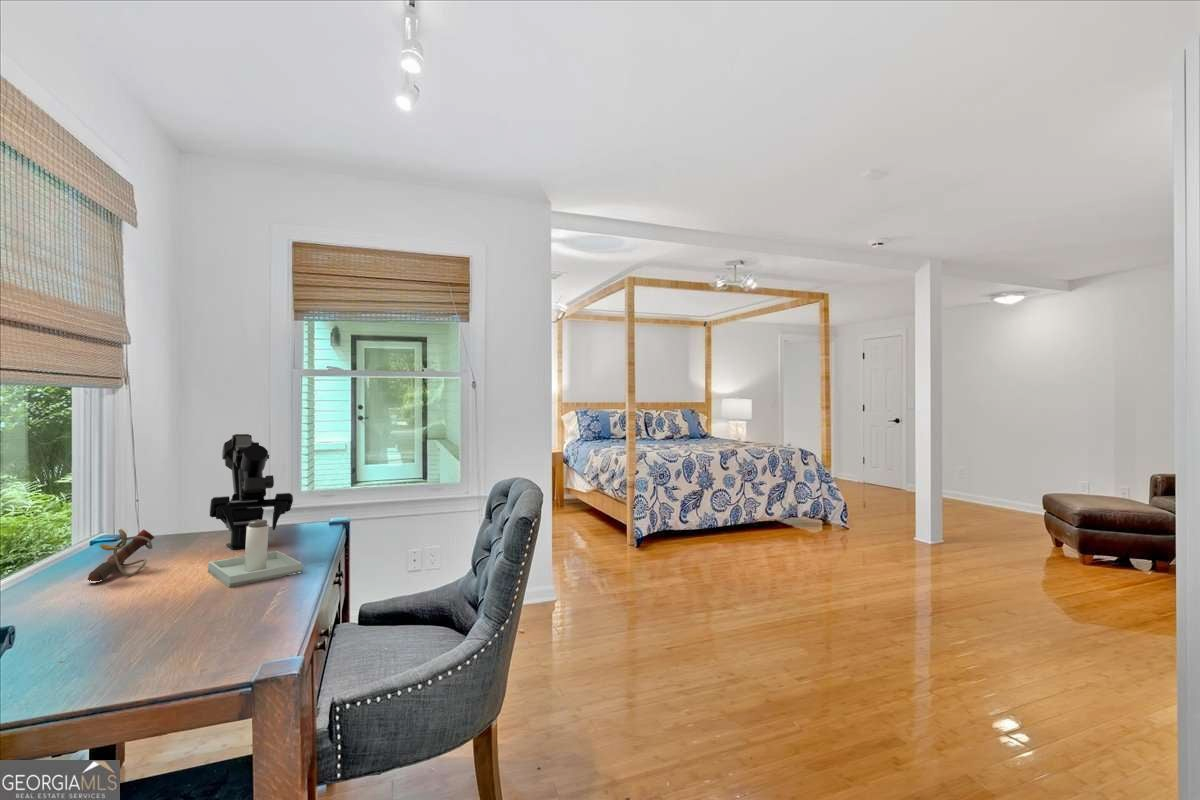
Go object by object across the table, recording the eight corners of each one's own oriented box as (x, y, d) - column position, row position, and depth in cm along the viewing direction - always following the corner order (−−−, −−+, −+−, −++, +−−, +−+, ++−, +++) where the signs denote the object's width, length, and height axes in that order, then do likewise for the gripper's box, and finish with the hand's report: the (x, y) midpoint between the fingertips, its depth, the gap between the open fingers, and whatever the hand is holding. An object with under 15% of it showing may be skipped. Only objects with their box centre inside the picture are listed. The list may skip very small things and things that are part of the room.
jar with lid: (239, 571, 136) (242, 522, 136) (254, 565, 140) (257, 518, 141) (256, 572, 135) (259, 523, 135) (270, 567, 140) (273, 520, 140)
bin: (207, 571, 137) (208, 561, 137) (277, 559, 149) (277, 550, 149) (229, 587, 126) (229, 576, 126) (301, 572, 139) (302, 563, 139)
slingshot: (51, 584, 123) (98, 548, 137) (92, 611, 127) (134, 573, 141) (104, 541, 122) (146, 508, 136) (143, 569, 125) (181, 535, 140)
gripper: (212, 466, 141) (213, 517, 133) (293, 464, 153) (298, 510, 144) (209, 491, 147) (209, 541, 139) (287, 487, 159) (292, 533, 150)
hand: (253, 531), depth 143 cm, fingers open, 9 cm apart
